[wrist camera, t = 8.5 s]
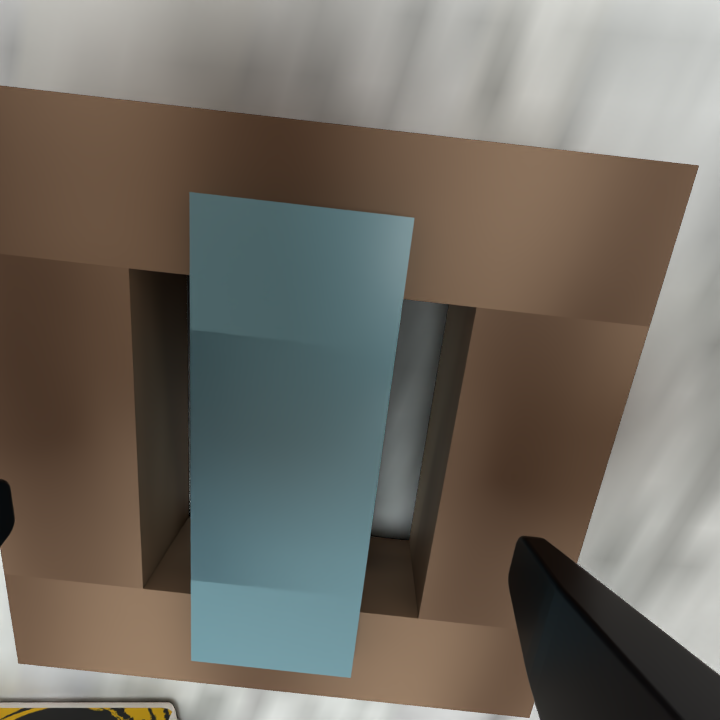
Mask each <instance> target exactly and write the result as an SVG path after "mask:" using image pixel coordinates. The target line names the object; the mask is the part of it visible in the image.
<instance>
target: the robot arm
mask: <svg viewBox="0 0 720 720" xmlns="http://www.w3.org/2000/svg"><path fill="white" fill-rule="evenodd" d="M14 523H15V515H14V508H13V501H12V494H11V487H10V485H9V483H8V482H7V481H6V480H4V479H0V547H1V545H2V544H3V543H4V542H5V540H6V539H7V538H8V536H9V535H10V533H11V531H12V529H13V527H14ZM508 586H509V592H510V597H511V601H512V606H513V611H514V616H515V621H516V625H517V630H518V635H519V640H520V645H521V649H522V654H523V659H524V664H525V668H526V673H527V677H528V681H529V684H530V688H531V691H532V695H533V698H534V701H535V705H536V708H537V711H538V714H539V718H540V720H720V675H719V674H717V673H716V672H715V671H714V670H712V669H711V668H710V667H709V666H707V665H706V664H705V663H703V662H702V661H701V660H700V659H698V658H697V657H696V656H694V655H693V654H692V653H691V652H689V651H688V650H687V649H685V648H684V647H683V646H682V645H680V644H679V643H678V642H676V641H675V640H674V639H673V638H671V637H670V636H669V635H667V634H666V633H665V632H664V631H662V630H661V629H660V628H659V627H657V626H656V625H655V624H653V623H652V622H651V621H650V620H648V619H647V618H646V617H644V616H643V615H642V614H641V613H639V612H638V611H637V610H635V609H634V608H633V607H632V606H630V605H629V604H628V603H626V602H625V601H624V600H623V599H621V598H620V597H619V596H618V595H616V594H615V593H614V592H612V591H611V590H610V589H609V588H607V587H606V586H605V585H603V584H602V583H601V582H600V581H598V580H597V579H596V578H594V577H593V576H592V575H591V574H589V573H588V572H587V571H585V570H584V569H583V568H582V567H580V566H579V565H578V564H577V563H575V562H574V561H573V560H571V559H570V558H569V557H568V556H566V555H565V554H564V553H562V552H561V551H560V550H559V549H557V548H556V547H555V546H553V545H552V544H551V543H550V542H548V541H547V540H546V539H544V538H541V537H532V536H521V537H519V538H518V540H517V542H516V545H515V549H514V553H513V557H512V561H511V565H510V569H509V574H508Z"/></svg>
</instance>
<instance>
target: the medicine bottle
mask: <svg viewBox="0 0 720 720" xmlns="http://www.w3.org/2000/svg"><path fill="white" fill-rule="evenodd" d="M0 720H177V716H176V711H175V708H174V707H173V705H172V704H171V703H169V702H0Z"/></svg>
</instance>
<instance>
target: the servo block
mask: <svg viewBox="0 0 720 720" xmlns="http://www.w3.org/2000/svg"><path fill="white" fill-rule="evenodd" d="M189 201H190V483H191V661H198V662H207V663H217V664H226V665H235V666H244V667H254V668H263V669H272V670H282V671H291V672H300V673H309V674H319V675H328V676H337V677H347V678H351V672H352V665H353V658H354V651H355V643H356V636H357V629H358V622H359V615H360V607H361V600H362V593H363V586H364V579H365V571H366V564H367V557H368V550H369V543H370V535H371V528H372V521H373V514H374V507H375V499H376V492H377V485H378V478H379V471H380V463H381V456H382V449H383V442H384V435H385V427H386V420H387V413H388V406H389V399H390V391H391V384H392V377H393V370H394V362H395V355H396V348H397V341H398V334H399V326H400V319H401V312H402V305H403V298H404V290H405V283H406V276H407V269H408V262H409V254H410V247H411V240H412V233H413V226H414V218H412V217H403V216H394V215H386V214H377V213H368V212H360V211H351V210H342V209H333V208H325V207H316V206H307V205H299V204H290V203H281V202H273V201H264V200H255V199H246V198H238V197H229V196H220V195H212V194H203V193H194V192H189Z"/></svg>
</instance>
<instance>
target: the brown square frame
mask: <svg viewBox="0 0 720 720" xmlns="http://www.w3.org/2000/svg"><path fill="white" fill-rule="evenodd" d="M698 167H699V166H698V165H689V164H680V163H672V162H663V161H654V160H645V159H637V158H628V157H619V156H611V155H602V154H593V153H584V152H576V151H567V150H558V149H549V148H541V147H532V146H523V145H514V144H506V143H497V142H488V141H480V140H471V139H462V138H453V137H445V136H436V135H427V134H418V133H410V132H401V131H392V130H383V129H375V128H366V127H357V126H349V125H340V124H331V123H322V122H314V121H305V120H296V119H287V118H279V117H270V116H261V115H252V114H244V113H235V112H226V111H218V110H209V109H200V108H191V107H183V106H174V105H165V104H156V103H148V102H139V101H130V100H122V99H113V98H104V97H95V96H87V95H78V94H69V93H60V92H52V91H43V90H34V89H25V88H17V87H8V86H0V479H4V480H6V481H7V482H8V483H9V485H10V487H11V494H12V501H13V508H14V515H15V523H14V527H13V529H12V531H11V533H10V535H9V536H8V538H7V539H6V540H5V542H4V543H3V544H2V545H1V547H0V549H1V556H2V562H3V568H4V575H5V581H6V587H7V594H8V600H9V607H10V613H11V619H12V626H13V632H14V638H15V645H16V651H17V657H18V663H19V664H29V665H38V666H47V667H57V668H66V669H76V670H85V671H94V672H104V673H113V674H123V675H132V676H141V677H151V678H160V679H169V680H179V681H188V682H198V683H207V684H216V685H226V686H235V687H245V688H254V689H263V690H273V691H282V692H292V693H301V694H310V695H320V696H329V697H338V698H348V699H357V700H367V701H376V702H385V703H395V704H404V705H414V706H423V707H432V708H442V709H451V710H460V711H470V712H479V713H489V714H498V715H507V716H517V717H526V718H529V717H530V714H531V711H532V708H533V704H534V698H533V695H532V691H531V688H530V684H529V681H528V677H527V673H526V668H525V664H524V659H523V654H522V649H521V645H520V640H519V635H518V630H517V625H516V621H515V616H514V611H513V606H512V601H511V597H510V592H509V586H508V574H509V569H510V565H511V561H512V557H513V553H514V549H515V545H516V542H517V540H518V538H519V537H521V536H532V537H541V538H544V539H546V540H547V541H548V542H550V543H551V544H552V545H553V546H555V547H556V548H557V549H559V550H560V551H561V552H562V553H564V554H565V555H566V556H568V557H569V558H570V559H571V560H573V561H574V562H575V563H577V561H578V558H579V555H580V551H581V548H582V545H583V542H584V538H585V535H586V532H587V529H588V525H589V522H590V519H591V515H592V512H593V509H594V506H595V502H596V499H597V496H598V493H599V489H600V486H601V483H602V480H603V476H604V473H605V470H606V467H607V463H608V460H609V457H610V454H611V450H612V447H613V444H614V441H615V437H616V434H617V431H618V428H619V424H620V421H621V418H622V415H623V411H624V408H625V405H626V402H627V398H628V395H629V392H630V388H631V385H632V382H633V379H634V375H635V372H636V369H637V366H638V362H639V359H640V356H641V353H642V349H643V346H644V343H645V340H646V336H647V333H648V330H649V327H650V323H651V320H652V317H653V314H654V310H655V307H656V304H657V301H658V297H659V294H660V291H661V288H662V284H663V281H664V278H665V274H666V271H667V268H668V265H669V261H670V258H671V255H672V252H673V248H674V245H675V242H676V239H677V235H678V232H679V229H680V226H681V222H682V219H683V216H684V213H685V209H686V206H687V203H688V200H689V196H690V193H691V190H692V187H693V183H694V180H695V177H696V174H697V170H698ZM189 192H194V193H203V194H212V195H220V196H229V197H238V198H246V199H255V200H264V201H273V202H281V203H290V204H299V205H307V206H316V207H325V208H333V209H342V210H351V211H360V212H368V213H377V214H386V215H394V216H403V217H412V218H414V226H413V233H412V240H411V247H410V254H409V262H408V269H407V276H406V283H405V290H404V298H403V299H407V300H416V301H425V302H434V303H443V304H449V307H448V313H447V319H446V324H445V330H444V336H443V342H442V348H441V354H440V360H439V366H438V372H437V378H436V384H435V390H434V396H433V402H432V408H431V414H430V420H429V425H428V431H427V437H426V443H425V449H424V455H423V461H422V467H421V473H420V479H419V485H418V491H417V497H416V503H415V509H414V515H413V521H412V526H411V532H410V538H409V540H400V539H391V538H381V537H372V536H370V543H369V550H368V557H367V564H366V571H365V579H364V586H363V593H362V600H361V607H360V615H359V622H358V629H357V636H356V643H355V651H354V658H353V665H352V672H351V678H347V677H337V676H328V675H319V674H309V673H300V672H291V671H282V670H272V669H263V668H254V667H244V666H235V665H226V664H217V663H207V662H198V661H191V517H189V473H188V318H187V275H190V201H189Z"/></svg>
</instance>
